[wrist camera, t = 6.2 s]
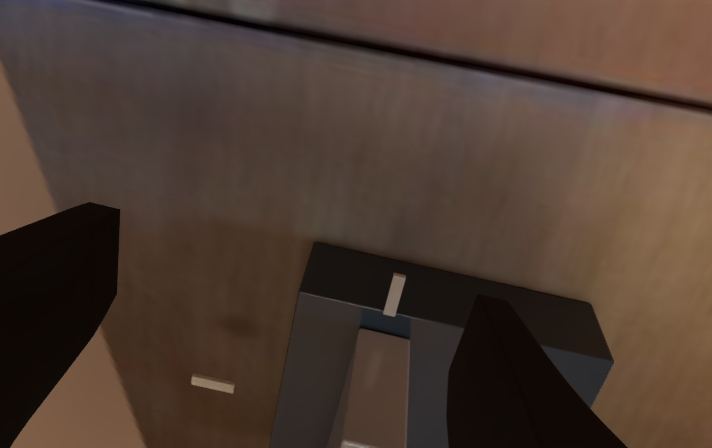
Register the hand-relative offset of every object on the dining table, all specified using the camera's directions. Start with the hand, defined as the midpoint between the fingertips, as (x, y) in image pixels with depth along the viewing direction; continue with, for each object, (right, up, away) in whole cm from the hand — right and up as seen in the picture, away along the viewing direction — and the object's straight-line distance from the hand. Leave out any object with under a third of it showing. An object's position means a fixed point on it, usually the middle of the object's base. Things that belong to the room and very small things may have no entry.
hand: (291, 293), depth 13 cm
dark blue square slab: (+2, -4, +11) cm, 12 cm away
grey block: (+1, -5, +8) cm, 10 cm away
